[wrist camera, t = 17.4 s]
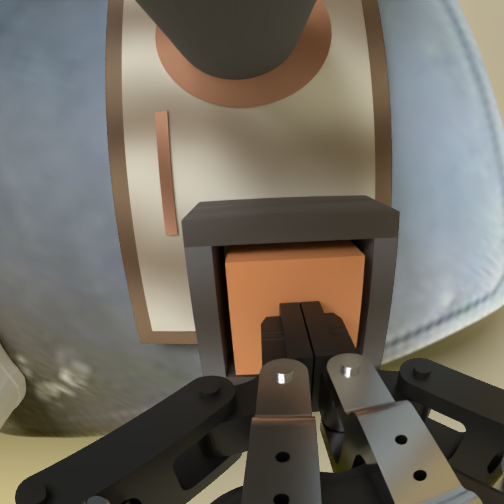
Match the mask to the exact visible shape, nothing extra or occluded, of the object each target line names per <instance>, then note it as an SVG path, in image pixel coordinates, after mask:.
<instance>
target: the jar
mask: <svg viewBox="0 0 504 504" xmlns="http://www.w3.org/2000/svg"><path fill="white" fill-rule="evenodd" d="M25 394H26V380H25V377H24V376H23V374H22V373H21V371H20V370H19V368H18V367H17V366H16V365H15V364H14V363H13V361H12V360H11V359H10V357H9V356H8V355H7V353H6V352H5V350H4V349H3V347H2V345H1V343H0V428H1V427H2V425H3V424H4V423H5V421H6V420H7V418H8V417H9V416H10V414H11V413H12V411H13V410H14V409H15V408H16V407H17V406H18V405H19V404H20V402H21V401H22V400H23V398H24V396H25Z"/></svg>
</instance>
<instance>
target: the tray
mask: <svg viewBox="0 0 504 504" xmlns="http://www.w3.org/2000/svg"><path fill="white" fill-rule="evenodd" d="M106 116H107V135H108V149H109V161H110V172H111V182H112V191H113V199H114V207H115V214H116V221H117V228H118V235H119V241H120V247H121V253H122V259H123V264H124V270H125V275H126V280H127V285H128V290H129V295H130V299H131V304H132V308H133V313H134V317H135V321H136V326H137V330H138V334H139V338H140V342H141V343H145V344H198V349H199V355H200V361H201V366H202V372H203V376H211V375H213V376H221V377H224V378H227V379H228V380H230V381H231V382H232V383H233V384H234V385H238V384H242V383H245V382H248V381H250V380H252V379H254V378H255V377H256V376H257V375H258V374H251V375H236V370H235V361H234V351H233V341H232V331H231V321H230V311H229V300H228V289H227V278H226V266H225V262H226V257H227V253H228V249H229V245H243V244H264V243H285V242H306V241H328V240H350V241H351V242H352V243H353V244H354V245H355V246H356V247H357V248H358V249H359V250H360V251H361V252H362V253H363V254H364V255H365V264H364V278H363V290H362V301H361V311H360V320H359V329H358V337H357V345H356V350H357V352H358V354H359V355H362V356H364V357H366V358H367V359H369V360H370V361H371V363H372V364H373V366H374V368H375V369H378V370H380V366H381V361H382V356H383V351H384V345H385V340H386V334H387V328H388V321H389V315H390V308H391V301H392V293H393V285H394V276H395V267H396V256H397V245H398V231H399V213H400V212H399V211H397V210H395V209H393V208H391V197H392V139H391V115H390V98H389V85H388V74H387V65H386V56H385V47H384V40H383V33H382V26H381V20H380V14H379V8H378V2H377V0H317V1H316V3H315V5H314V7H313V9H312V12H311V14H310V16H309V18H308V21H307V23H306V25H305V27H304V30H303V32H302V34H301V36H300V38H299V40H298V42H297V45H296V46H295V48H294V50H293V52H292V53H291V54H290V55H289V57H288V58H287V59H286V60H285V61H284V62H283V63H282V64H281V65H279V66H278V67H277V68H275V69H273V70H272V71H270V72H268V73H265V74H263V75H261V76H257V77H254V78H250V79H242V80H231V79H222V78H218V77H214V76H211V75H208V74H206V73H204V72H202V71H200V70H199V69H197V68H195V67H194V66H193V65H192V64H191V63H190V62H189V61H188V60H187V59H186V58H185V57H184V56H183V55H182V54H181V53H180V52H179V51H178V49H177V48H176V47H175V46H174V45H173V43H172V42H171V41H170V40H169V39H168V37H167V36H166V35H165V34H164V33H163V32H162V30H161V29H160V28H159V27H158V26H157V25H156V24H155V22H154V21H153V20H152V19H151V18H150V17H149V16H148V14H147V13H146V12H145V11H144V10H143V9H142V8H141V7H140V5H139V4H138V3H137V2H136V1H135V0H109V1H108V14H107V31H106Z"/></svg>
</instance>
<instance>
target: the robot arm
mask: <svg viewBox="0 0 504 504" xmlns="http://www.w3.org/2000/svg"><path fill="white" fill-rule="evenodd" d="M261 348H262V368H261V370H260V373H259V374H258V375H257V376H256V377H255V378H254V379H252V380H250V381H248V382H245V383H242V384H238V385H234V384H233V383H232V382H231V381H230V380H228V379H227V378H224V377H221V376H213V375H211V376H203V377H200V378H197V379H195V380H193V381H192V382H190V383H189V384H187V385H186V386H184V387H183V388H181V389H180V390H178V391H177V392H175V393H174V394H172V395H170V396H169V397H167V398H166V399H164V400H163V401H161V402H160V403H158V404H156V405H155V406H153V407H152V408H150V409H148V410H147V411H145V412H144V413H142V414H140V415H139V416H137V417H136V418H134V419H132V420H131V421H129V422H127V423H126V424H124V425H122V426H121V427H119V428H117V429H116V430H114V431H112V432H111V433H109V434H107V435H106V436H104V437H102V438H100V439H99V440H97V441H95V442H93V443H92V444H90V445H88V446H86V447H85V448H83V449H81V450H79V451H77V452H76V453H74V454H72V455H70V456H68V457H67V458H65V459H63V460H61V461H59V462H57V463H55V464H54V465H52V466H50V467H48V468H46V469H44V470H42V471H40V472H38V473H36V474H34V475H32V476H30V477H28V478H27V479H25V480H24V481H22V483H21V484H20V485H19V486H18V488H17V490H16V494H15V502H16V504H186V503H187V502H188V501H190V500H191V499H192V498H193V497H195V496H196V495H197V494H198V493H200V492H201V491H202V490H203V489H205V488H206V487H207V486H208V485H209V484H211V483H212V482H213V481H214V480H215V479H217V478H218V477H219V476H220V475H221V474H222V473H224V472H225V471H226V470H227V469H228V468H229V467H230V466H231V465H233V464H234V463H235V462H236V461H237V460H238V459H239V458H240V456H241V455H242V452H245V451H248V453H247V460H246V468H245V476H244V484H243V486H241V487H238V488H235V489H233V490H231V491H229V492H227V493H225V494H223V495H222V496H220V497H219V498H217V499H216V500H214V501H213V502H212V503H211V504H504V390H503V389H501V388H498V387H495V386H493V385H490V384H488V383H485V382H482V381H480V380H477V379H475V378H473V377H470V376H468V375H465V374H463V373H460V372H458V371H455V370H453V369H450V368H448V367H445V366H443V365H441V364H438V363H436V362H433V361H430V360H428V359H423V358H414V359H410V360H407V361H406V362H404V363H403V364H402V365H401V367H400V370H399V372H398V371H384V370H378V369H375V368H374V366H373V364H372V363H371V361H370V360H369V359H367V358H366V357H364V356H362V355H359V354H358V352H357V350H356V348H355V345H354V343H353V341H352V339H351V337H350V335H349V333H348V330H347V328H346V326H345V324H344V322H343V320H342V318H340V317H339V316H338V315H336V314H335V313H334V312H332V313H324V312H323V309H322V306H321V304H320V302H319V301H308V302H300V303H299V302H292V303H279V316H270V317H266V318H265V319H264V320H263V322H262V323H261ZM431 409H433V410H435V411H437V412H439V413H441V414H443V415H446V416H448V417H450V418H452V419H454V420H456V421H459V422H461V423H462V424H463V425H464V426H465V428H466V432H458V431H456V430H454V429H451V428H449V427H447V426H445V425H443V424H441V423H438V422H436V421H434V420H432V419H430V418H428V416H429V413H430V410H431ZM317 411H320V414H321V423H320V431H321V434H322V437H323V440H324V444H325V447H326V450H327V453H328V457H329V460H330V463H331V466H332V469H333V473H328V472H320V471H319V457H318V444H317V433H316V421H315V417H312V412H317Z"/></svg>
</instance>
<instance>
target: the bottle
mask: <svg viewBox="0 0 504 504" xmlns="http://www.w3.org/2000/svg"><path fill="white" fill-rule="evenodd" d="M135 1H136V2H137V3H138V4H139V5H140V7H141V8H142V9H143V10H144V11H145V12H146V13H147V14H148V16H149V17H150V18H151V19H152V20H153V21H154V22H155V24H156V25H157V26H158V27H159V28H160V29H161V30H162V32H163V33H164V34H165V35H166V36H167V37H168V39H169V40H170V41H171V42H172V43H173V45H174V46H175V47H176V48H177V49H178V51H179V52H180V53H181V54H182V55H183V56H184V57H185V58H186V59H187V60H188V61H189V62H190V63H191V64H192V65H193V66H194V67H195V68H197V69H199V70H200V71H202V72H204V73H206V74H208V75H211V76H214V77H218V78H222V79H231V80H242V79H250V78H254V77H257V76H261V75H263V74H265V73H268V72H270V71H272V70H273V69H275V68H277V67H278V66H279V65H281V64H282V63H283V62H284V61H285V60H286V59H287V58H288V57H289V55H290V54H291V53H292V52H293V50H294V48H295V46H296V45H297V42H298V40H299V38H300V36H301V34H302V32H303V30H304V27H305V25H306V23H307V21H308V18H309V16H310V14H311V12H312V9H313V7H314V5H315V3H316V1H317V0H135Z"/></svg>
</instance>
